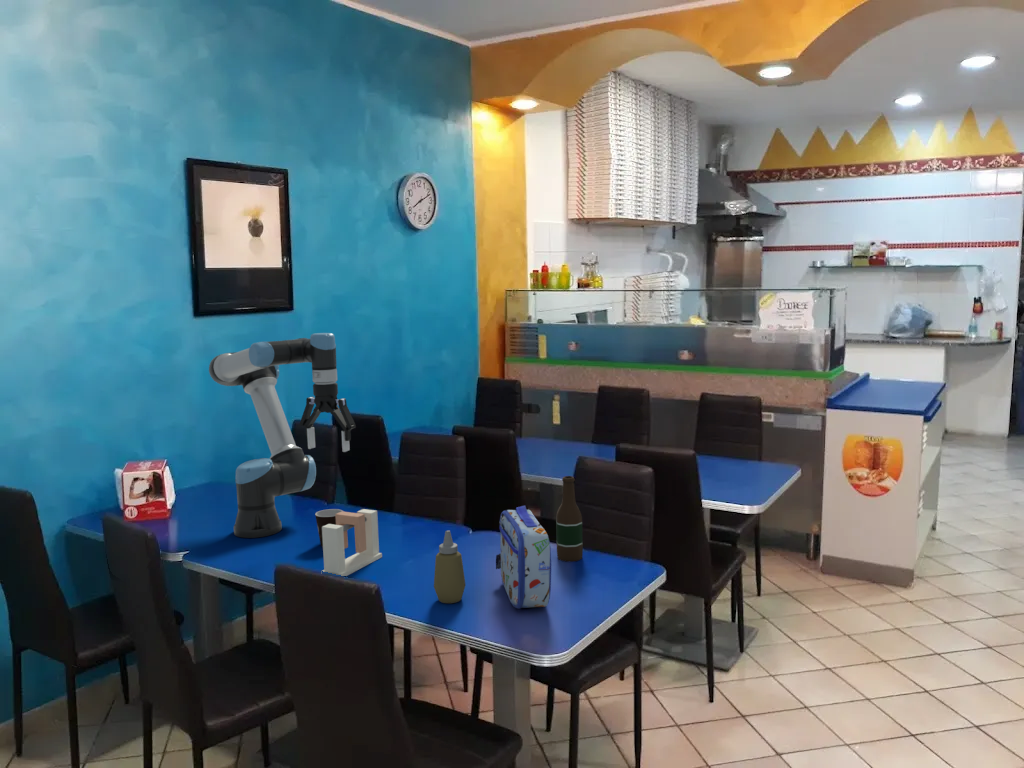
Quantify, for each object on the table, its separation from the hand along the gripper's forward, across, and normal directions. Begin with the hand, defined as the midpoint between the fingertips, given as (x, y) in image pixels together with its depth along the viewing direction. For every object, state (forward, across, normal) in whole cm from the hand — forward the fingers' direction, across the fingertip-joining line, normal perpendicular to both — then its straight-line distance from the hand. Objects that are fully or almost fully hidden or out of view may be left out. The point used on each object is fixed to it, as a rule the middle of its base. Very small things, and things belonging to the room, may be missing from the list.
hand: (328, 449), depth 262 cm
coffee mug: (+29, +3, -4) cm, 29 cm away
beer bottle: (+29, +77, +11) cm, 83 cm away
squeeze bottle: (+29, +61, -30) cm, 74 cm away
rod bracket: (+29, +22, -19) cm, 41 cm away
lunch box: (+29, +77, -20) cm, 85 cm away
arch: (+24, +22, -19) cm, 38 cm away
